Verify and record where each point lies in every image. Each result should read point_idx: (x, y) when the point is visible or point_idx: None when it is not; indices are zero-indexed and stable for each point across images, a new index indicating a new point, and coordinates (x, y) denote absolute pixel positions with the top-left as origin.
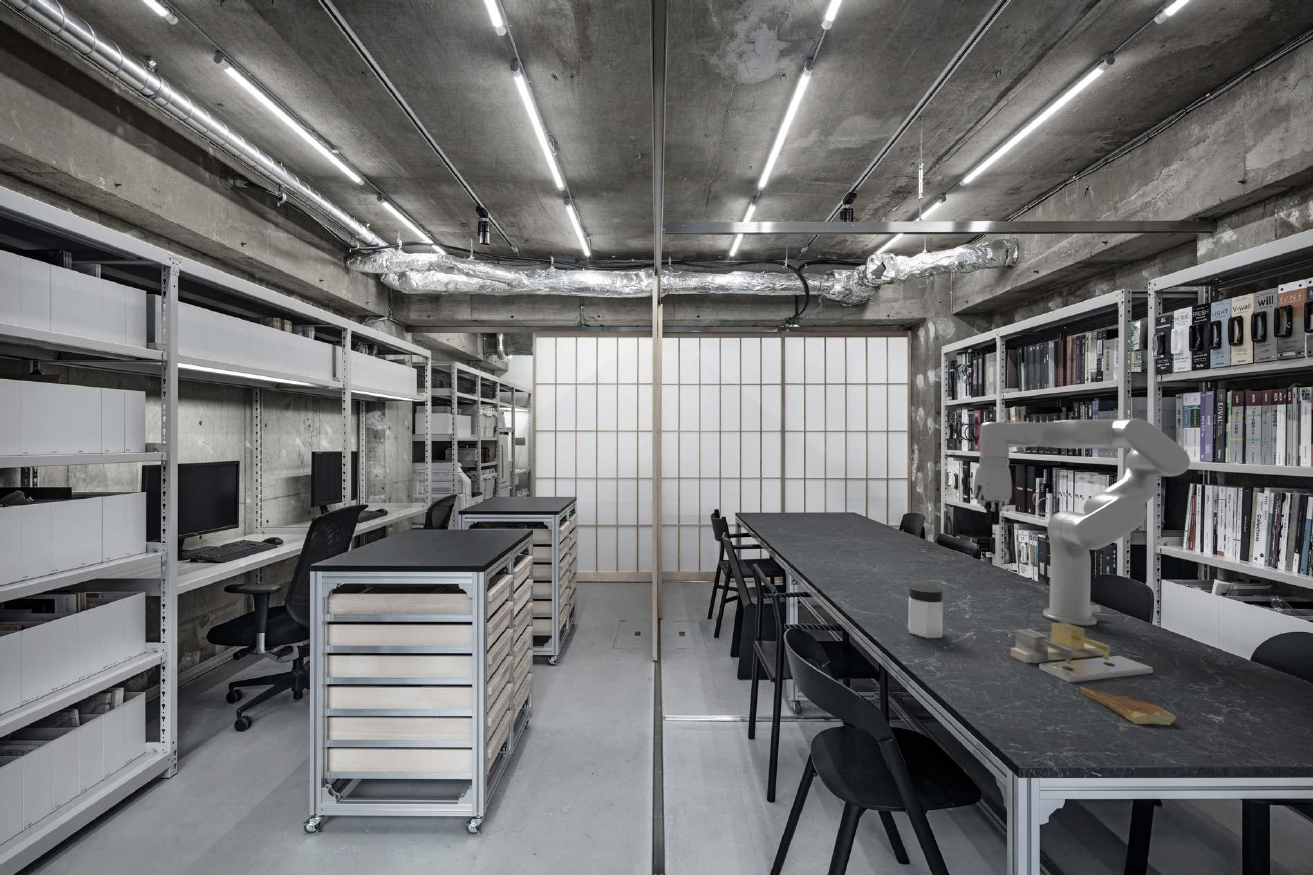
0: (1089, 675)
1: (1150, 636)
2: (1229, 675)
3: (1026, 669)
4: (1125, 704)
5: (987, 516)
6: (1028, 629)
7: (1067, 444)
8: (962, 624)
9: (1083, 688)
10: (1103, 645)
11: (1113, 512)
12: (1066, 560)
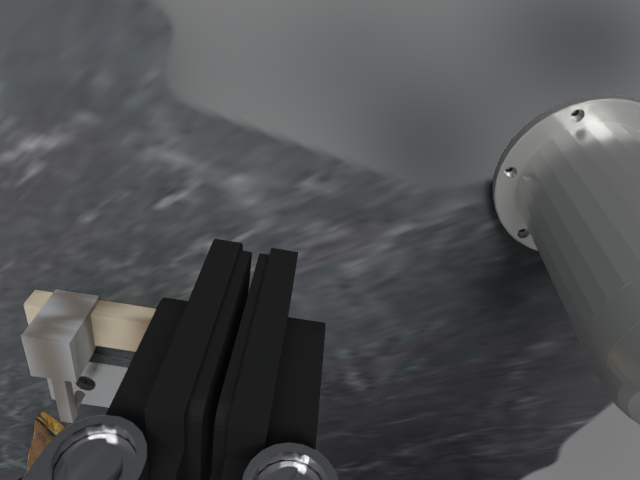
0: (104, 405)
1: None
2: (410, 467)
3: (15, 337)
4: None
5: (141, 355)
6: (64, 344)
7: None
8: (84, 65)
9: (35, 423)
10: None
11: None
12: (603, 382)
